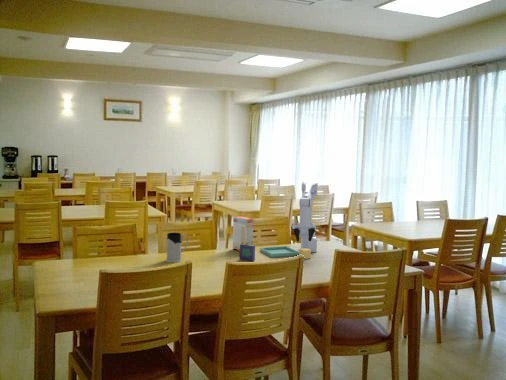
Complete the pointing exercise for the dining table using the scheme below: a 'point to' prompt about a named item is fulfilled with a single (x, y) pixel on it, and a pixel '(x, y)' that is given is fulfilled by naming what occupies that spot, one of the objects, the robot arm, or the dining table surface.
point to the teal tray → (279, 251)
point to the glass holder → (174, 247)
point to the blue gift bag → (247, 252)
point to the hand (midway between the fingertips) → (303, 241)
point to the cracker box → (242, 231)
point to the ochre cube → (305, 252)
